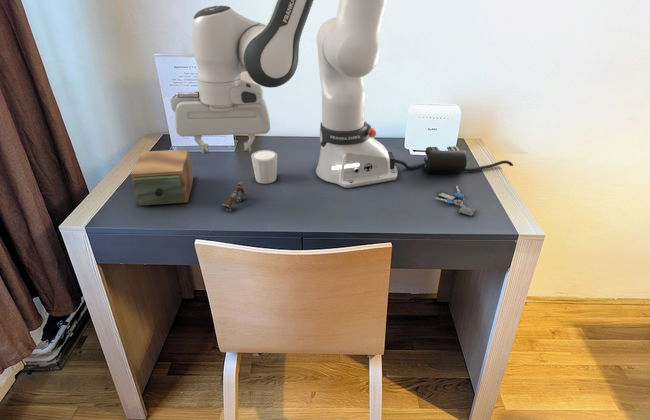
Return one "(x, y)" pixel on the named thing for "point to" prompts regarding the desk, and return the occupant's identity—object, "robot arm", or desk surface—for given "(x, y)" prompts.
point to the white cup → (265, 166)
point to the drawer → (159, 189)
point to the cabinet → (165, 167)
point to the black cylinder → (445, 160)
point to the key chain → (463, 208)
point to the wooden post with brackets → (234, 195)
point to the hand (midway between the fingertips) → (226, 151)
